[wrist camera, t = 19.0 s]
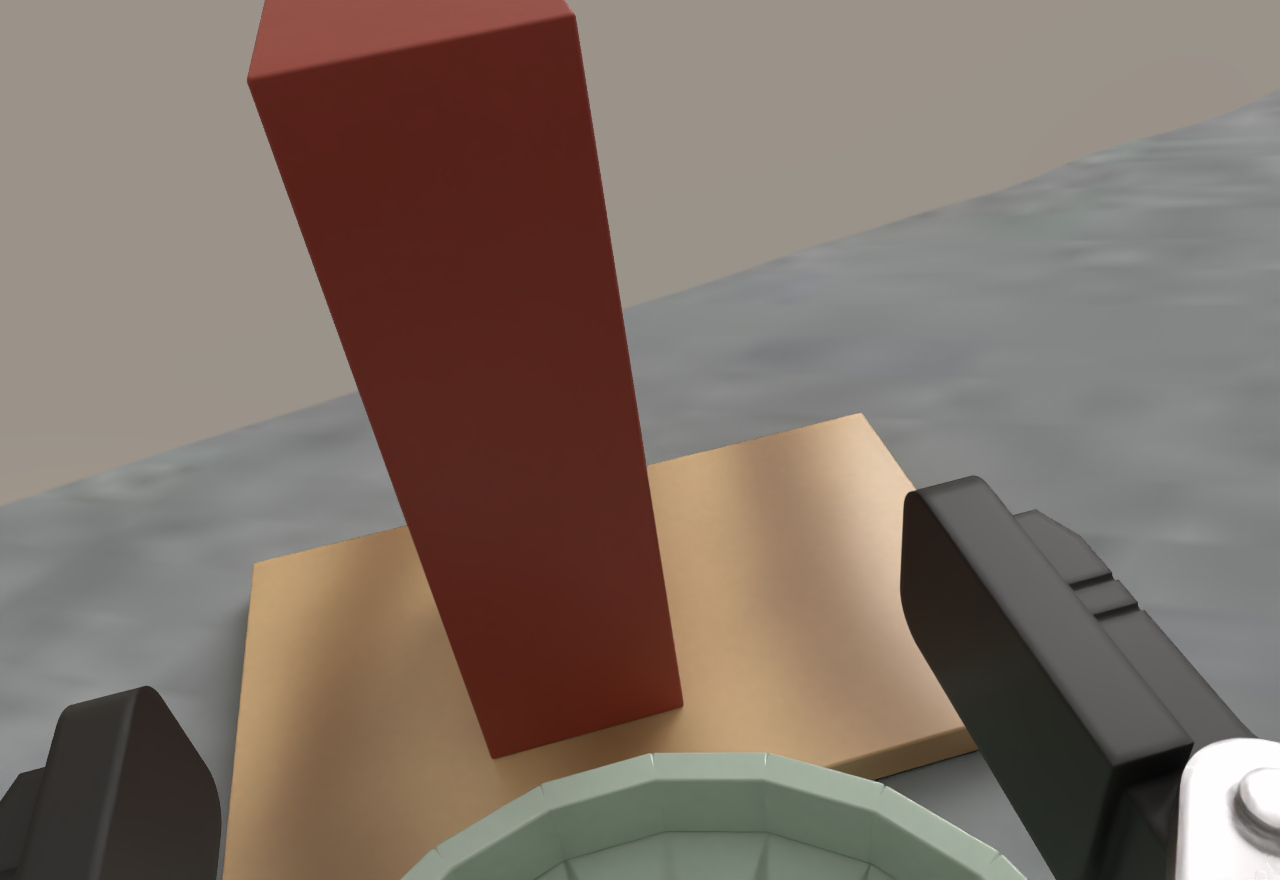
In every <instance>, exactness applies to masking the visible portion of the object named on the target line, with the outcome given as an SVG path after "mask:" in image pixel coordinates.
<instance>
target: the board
mask: <svg viewBox="0 0 1280 880" xmlns="http://www.w3.org/2000/svg"><path fill="white" fill-rule="evenodd" d="M647 472H648V479H649V485H650V491H651V498H652V504H653V511H654V517H655V523H656V530H657V536H658V542H659V549H660V555H661V561H662V568H663V574H664V580H665V587H666V593H667V599H668V606H669V612H670V618H671V625H672V631H673V638H674V644H675V650H676V657H677V663H678V669H679V676H680V682H681V688H682V695H683V701H684V705H683V706H682V707H680V708H676V709H672V710H669V711H665V712H662V713H658V714H654V715H651V716H647V717H644V718H640V719H636V720H633V721H629V722H626V723H622V724H618V725H615V726H611V727H608V728H604V729H600V730H597V731H593V732H590V733H586V734H582V735H579V736H575V737H572V738H568V739H564V740H561V741H557V742H553V743H550V744H546V745H543V746H539V747H535V748H532V749H528V750H525V751H521V752H517V753H514V754H510V755H507V756H503V757H499V758H496V759H492V757H491V756H490V753H489V750H488V747H487V745H486V742H485V739H484V736H483V734H482V731H481V728H480V725H479V723H478V720H477V717H476V714H475V711H474V709H473V706H472V703H471V700H470V698H469V695H468V692H467V689H466V687H465V684H464V681H463V678H462V675H461V673H460V670H459V667H458V664H457V662H456V659H455V656H454V653H453V651H452V648H451V645H450V642H449V639H448V637H447V634H446V631H445V628H444V626H443V623H442V620H441V617H440V615H439V612H438V609H437V606H436V603H435V601H434V598H433V595H432V592H431V590H430V587H429V584H428V581H427V579H426V576H425V573H424V570H423V567H422V565H421V562H420V559H419V556H418V554H417V551H416V548H415V545H414V543H413V540H412V537H411V534H410V531H409V529H408V526H407V525H406V526H402V527H398V528H394V529H390V530H386V531H382V532H378V533H374V534H370V535H366V536H362V537H358V538H354V539H350V540H346V541H342V542H338V543H334V544H330V545H326V546H322V547H318V548H314V549H310V550H306V551H302V552H298V553H294V554H290V555H286V556H282V557H278V558H274V559H270V560H266V561H262V562H258V563H255V564H254V565H253V574H252V584H251V594H250V604H249V614H248V624H247V634H246V644H245V655H244V665H243V675H242V685H241V695H240V705H239V715H238V725H237V735H236V745H235V756H234V766H233V776H232V786H231V796H230V806H229V816H228V826H227V836H226V846H225V857H224V867H223V877H222V880H400V879H401V878H402V877H403V876H404V875H405V874H406V873H407V872H408V871H409V870H410V869H411V868H412V867H413V866H414V865H415V864H417V863H418V862H419V861H420V860H421V859H422V858H423V857H424V856H425V855H426V854H427V853H428V852H429V851H430V850H431V849H435V847H436V846H437V845H438V844H440V843H441V842H443V841H445V840H446V839H448V838H450V837H451V836H453V835H455V834H456V833H458V832H460V831H462V830H463V829H465V828H467V827H468V826H470V825H472V824H473V823H475V822H477V821H479V820H480V819H482V818H484V817H485V816H487V815H489V814H490V813H492V812H494V811H496V810H497V809H499V808H501V807H502V806H504V805H506V804H507V803H509V802H511V801H512V800H514V799H516V798H518V797H519V796H521V795H523V794H524V793H526V792H528V791H529V790H531V789H533V788H535V787H536V786H540V787H541V784H542V783H545V782H548V781H552V780H555V779H559V778H562V777H566V776H570V775H573V774H577V773H580V772H584V771H588V770H591V769H595V768H598V767H602V766H605V765H609V764H613V763H616V762H620V761H623V760H627V759H631V758H634V757H638V756H641V755H645V754H648V753H651V754H652V755H653V753H717V752H765V753H767V755H768V753H773V754H777V755H780V756H784V757H788V758H791V759H795V760H799V761H802V762H806V763H810V764H813V765H817V766H821V767H824V768H828V769H832V770H835V771H839V772H843V773H846V774H850V775H854V776H857V777H861V778H865V779H868V780H875V779H878V778H882V777H885V776H888V775H892V774H895V773H899V772H902V771H906V770H909V769H913V768H916V767H920V766H923V765H927V764H930V763H933V762H937V761H940V760H944V759H947V758H951V757H954V756H958V755H961V754H965V753H968V752H971V751H975V750H978V747H977V746H976V744H975V742H974V741H973V739H972V737H971V736H970V734H969V732H968V731H967V729H966V727H965V726H964V724H963V722H962V720H961V719H960V717H959V715H958V714H957V712H956V710H955V709H954V707H953V705H952V704H951V702H950V700H949V699H948V697H947V695H946V694H945V692H944V690H943V689H942V687H941V685H940V684H939V682H938V680H937V678H936V677H935V675H934V673H933V672H932V670H931V668H930V667H929V665H928V663H927V662H926V660H925V658H924V657H923V655H922V653H921V652H920V650H919V648H918V647H917V645H916V643H915V641H914V639H913V637H912V635H911V633H910V630H909V628H908V625H907V622H906V619H905V616H904V612H903V608H902V603H901V597H900V571H901V548H902V526H903V506H904V500H905V497H906V495H907V493H909V492H911V491H915V490H916V488H915V487H914V486H913V484H912V483H911V481H910V480H909V479H908V477H907V476H906V474H905V473H904V472H903V470H902V469H901V467H900V466H899V465H898V463H897V462H896V460H895V459H894V458H893V456H892V455H891V453H890V452H889V451H888V449H887V448H886V446H885V445H884V444H883V442H882V441H881V439H880V438H879V436H878V435H877V434H876V432H875V431H874V429H873V428H872V427H871V425H870V424H869V422H868V421H867V420H866V418H865V417H864V415H863V414H862V413H857V414H853V415H849V416H845V417H841V418H837V419H833V420H829V421H825V422H821V423H817V424H813V425H809V426H805V427H801V428H797V429H793V430H789V431H785V432H781V433H777V434H773V435H769V436H765V437H761V438H757V439H753V440H748V441H744V442H740V443H736V444H732V445H728V446H724V447H720V448H716V449H712V450H708V451H704V452H700V453H696V454H692V455H688V456H684V457H680V458H676V459H672V460H668V461H664V462H660V463H656V464H652V465H648V466H647Z"/></svg>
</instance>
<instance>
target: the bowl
mask: <svg viewBox="0 0 1280 880" xmlns="http://www.w3.org/2000/svg"><path fill="white" fill-rule="evenodd" d="M400 880H1028V879H1027V878H1026V877H1025V876H1024V875H1023V874H1022V873H1021V872H1020V871H1019V870H1018V869H1017V868H1016V867H1015V866H1014V865H1013V864H1012V863H1011V862H1010V861H1009V860H1008V859H1007V858H1006V857H1005V856H1004V855H1000V853H999V852H998V851H997V850H996V849H994V848H992V847H991V846H989V845H987V844H986V843H984V842H982V841H980V840H979V839H977V838H975V837H974V836H972V835H970V834H969V833H967V832H965V831H963V830H962V829H960V828H958V827H957V826H955V825H953V824H951V823H950V822H948V821H946V820H945V819H943V818H941V817H940V816H938V815H936V814H934V813H933V812H931V811H929V810H928V809H926V808H924V807H922V806H921V805H919V804H917V803H916V802H914V801H912V800H911V799H909V798H907V797H905V796H904V795H902V794H900V793H899V792H897V791H895V790H893V789H892V788H890V787H888V786H886V787H885V786H884V784H882V783H879V782H876V781H872V780H868V779H865V778H861V777H857V776H854V775H850V774H846V773H843V772H839V771H835V770H832V769H828V768H824V767H821V766H817V765H813V764H810V763H806V762H802V761H799V760H795V759H791V758H788V757H784V756H780V755H777V754H773V753H768V755H767V753H765V752H717V753H653V755H652V754H651V753H648V754H645V755H641V756H638V757H634V758H631V759H627V760H623V761H620V762H616V763H613V764H609V765H605V766H602V767H598V768H595V769H591V770H588V771H584V772H580V773H577V774H573V775H570V776H566V777H562V778H559V779H555V780H552V781H548V782H545V783H542V784H541V787H540V786H536V787H535V788H533V789H531V790H529V791H528V792H526V793H524V794H523V795H521V796H519V797H518V798H516V799H514V800H512V801H511V802H509V803H507V804H506V805H504V806H502V807H501V808H499V809H497V810H496V811H494V812H492V813H490V814H489V815H487V816H485V817H484V818H482V819H480V820H479V821H477V822H475V823H473V824H472V825H470V826H468V827H467V828H465V829H463V830H462V831H460V832H458V833H456V834H455V835H453V836H451V837H450V838H448V839H446V840H445V841H443V842H441V843H440V844H438V845H437V846H436V847H435V849H431V850H430V851H429V852H428V853H427V854H426V855H425V856H424V857H423V858H422V859H421V860H420V861H419V862H418V863H417V864H415V865H414V866H413V867H412V868H411V869H410V870H409V871H408V872H407V873H406V874H405V875H404V876H403V877H402V878H401V879H400Z"/></svg>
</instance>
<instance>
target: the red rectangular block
mask: <svg viewBox="0 0 1280 880" xmlns="http://www.w3.org/2000/svg"><path fill="white" fill-rule="evenodd" d="M247 83H248V86H249V89H250V91H251V94H252V97H253V100H254V102H255V105H256V108H257V110H258V113H259V116H260V119H261V122H262V124H263V127H264V130H265V133H266V136H267V138H268V141H269V144H270V147H271V149H272V152H273V155H274V158H275V161H276V163H277V166H278V169H279V171H280V174H281V177H282V180H283V183H284V185H285V188H286V191H287V194H288V197H289V199H290V202H291V205H292V207H293V210H294V213H295V216H296V218H297V221H298V224H299V227H300V230H301V233H302V235H303V238H304V241H305V243H306V246H307V249H308V252H309V254H310V257H311V260H312V263H313V265H314V268H315V271H316V274H317V277H318V280H319V282H320V285H321V288H322V291H323V293H324V296H325V299H326V301H327V304H328V307H329V310H330V313H331V315H332V318H333V321H334V324H335V327H336V329H337V332H338V335H339V337H340V340H341V343H342V346H343V349H344V351H345V354H346V357H347V360H348V363H349V365H350V368H351V371H352V374H353V376H354V379H355V382H356V385H357V388H358V390H359V393H360V396H361V399H362V401H363V404H364V407H365V410H366V412H367V415H368V418H369V421H370V424H371V426H372V429H373V432H374V435H375V437H376V440H377V443H378V446H379V448H380V451H381V454H382V457H383V460H384V462H385V465H386V468H387V471H388V473H389V476H390V479H391V482H392V484H393V487H394V490H395V493H396V495H397V498H398V501H399V504H400V507H401V509H402V512H403V515H404V518H405V520H406V523H407V526H408V529H409V531H410V534H411V537H412V540H413V543H414V545H415V548H416V551H417V554H418V556H419V559H420V562H421V565H422V567H423V570H424V573H425V576H426V579H427V581H428V584H429V587H430V590H431V592H432V595H433V598H434V601H435V603H436V606H437V609H438V612H439V615H440V617H441V620H442V623H443V626H444V628H445V631H446V634H447V637H448V639H449V642H450V645H451V648H452V651H453V653H454V656H455V659H456V662H457V664H458V667H459V670H460V673H461V675H462V678H463V681H464V684H465V687H466V689H467V692H468V695H469V698H470V700H471V703H472V706H473V709H474V711H475V714H476V717H477V720H478V723H479V725H480V728H481V731H482V734H483V736H484V739H485V742H486V745H487V747H488V750H489V753H490V756H491V757H492V759H496V758H499V757H503V756H507V755H510V754H514V753H517V752H521V751H525V750H528V749H532V748H535V747H539V746H543V745H546V744H550V743H553V742H557V741H561V740H564V739H568V738H572V737H575V736H579V735H582V734H586V733H590V732H593V731H597V730H600V729H604V728H608V727H611V726H615V725H618V724H622V723H626V722H629V721H633V720H636V719H640V718H644V717H647V716H651V715H654V714H658V713H662V712H665V711H669V710H672V709H676V708H680V707H682V706H683V705H684V701H683V695H682V688H681V682H680V676H679V669H678V663H677V657H676V650H675V644H674V638H673V631H672V625H671V618H670V612H669V606H668V599H667V593H666V587H665V580H664V574H663V568H662V561H661V555H660V549H659V542H658V536H657V530H656V523H655V517H654V511H653V504H652V498H651V491H650V485H649V479H648V472H647V466H646V460H645V453H644V447H643V441H642V434H641V428H640V422H639V415H638V409H637V403H636V396H635V390H634V384H633V377H632V371H631V364H630V358H629V352H628V345H627V339H626V333H625V326H624V320H623V314H622V307H621V301H620V295H619V289H618V282H617V276H616V269H615V263H614V256H613V250H612V244H611V237H610V231H609V225H608V219H607V212H606V206H605V199H604V193H603V187H602V181H601V174H600V168H599V161H598V155H597V149H596V142H595V136H594V129H593V123H592V117H591V111H590V104H589V98H588V91H587V85H586V79H585V73H584V67H583V60H582V53H581V47H580V41H579V35H578V28H577V22H576V16H575V14H574V13H573V11H572V10H571V9H570V7H569V6H568V4H567V3H566V1H565V0H265V3H264V7H263V11H262V16H261V20H260V25H259V29H258V33H257V38H256V42H255V46H254V51H253V55H252V59H251V64H250V68H249V73H248V77H247Z"/></svg>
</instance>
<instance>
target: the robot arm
mask: <svg viewBox="0 0 1280 880" xmlns="http://www.w3.org/2000/svg"><path fill="white" fill-rule="evenodd" d="M900 597H901V603H902V608H903V612H904V616H905V619H906V622H907V625H908V628H909V630H910V633H911V635H912V637H913V639H914V641H915V643H916V645H917V647H918V648H919V650H920V652H921V653H922V655H923V657H924V658H925V660H926V662H927V663H928V665H929V667H930V668H931V670H932V672H933V673H934V675H935V677H936V678H937V680H938V682H939V684H940V685H941V687H942V689H943V690H944V692H945V694H946V695H947V697H948V699H949V700H950V702H951V704H952V705H953V707H954V709H955V710H956V712H957V714H958V715H959V717H960V719H961V720H962V722H963V724H964V726H965V727H966V729H967V731H968V732H969V734H970V736H971V737H972V739H973V741H974V742H975V744H976V746H977V747H978V749H979V751H980V752H981V754H982V756H983V757H984V759H985V761H986V763H987V764H988V766H989V768H990V769H991V771H992V773H993V774H994V776H995V778H996V779H997V781H998V783H999V784H1000V786H1001V788H1002V789H1003V791H1004V793H1005V794H1006V796H1007V798H1008V799H1009V801H1010V803H1011V805H1012V806H1013V808H1014V810H1015V811H1016V813H1017V815H1018V816H1019V818H1020V820H1021V821H1022V823H1023V825H1024V826H1025V828H1026V830H1027V831H1028V833H1029V835H1030V836H1031V838H1032V840H1033V842H1034V843H1035V845H1036V847H1037V848H1038V850H1039V852H1040V853H1041V855H1042V857H1043V858H1044V860H1045V862H1046V863H1047V865H1048V867H1049V868H1050V870H1051V872H1052V873H1053V875H1054V877H1055V878H1056V880H1280V743H1276V742H1273V741H1267V740H1262V739H1259V738H1258V737H1256V736H1255V735H1254V734H1253V733H1252V732H1250V730H1249V729H1248V728H1247V727H1246V726H1245V725H1244V724H1243V723H1242V722H1241V721H1240V720H1239V719H1238V718H1237V717H1236V716H1235V714H1234V713H1233V712H1232V711H1231V710H1230V709H1229V707H1228V706H1227V705H1226V704H1225V703H1224V702H1223V700H1222V699H1221V698H1220V697H1219V696H1218V695H1217V693H1216V692H1215V691H1214V690H1213V689H1212V688H1211V687H1210V685H1209V684H1208V683H1207V682H1206V681H1205V680H1204V678H1203V677H1202V676H1201V675H1200V674H1199V673H1198V671H1197V670H1196V669H1195V668H1194V667H1193V666H1192V665H1191V663H1190V662H1189V661H1188V660H1187V659H1186V658H1185V656H1184V655H1183V654H1182V653H1181V652H1180V651H1179V649H1178V648H1177V647H1176V646H1175V645H1174V644H1173V642H1172V641H1171V640H1170V639H1169V638H1168V637H1167V636H1166V634H1165V633H1164V632H1163V631H1162V630H1161V629H1160V627H1159V626H1158V625H1157V624H1156V623H1155V622H1154V620H1153V619H1152V618H1151V617H1150V616H1149V615H1148V614H1147V612H1146V611H1145V610H1143V611H1141V610H1140V609H1139V607H1138V602H1137V601H1136V600H1135V598H1134V597H1133V596H1132V595H1131V594H1130V593H1129V591H1128V590H1127V589H1126V588H1125V587H1124V586H1123V585H1122V583H1121V582H1120V581H1119V580H1114V578H1113V576H1112V572H1111V571H1110V569H1109V568H1108V567H1107V566H1106V565H1105V564H1104V562H1103V561H1102V560H1101V559H1100V558H1099V557H1098V556H1097V554H1096V553H1095V552H1094V551H1093V550H1092V549H1091V547H1090V546H1089V545H1088V544H1087V543H1086V542H1085V540H1084V539H1083V538H1082V537H1081V536H1080V535H1078V534H1076V533H1075V532H1073V531H1071V530H1070V529H1068V528H1066V527H1065V526H1063V525H1061V524H1060V523H1058V522H1056V521H1054V520H1053V519H1051V518H1049V517H1048V516H1046V515H1044V514H1043V513H1041V512H1039V511H1038V510H1036V509H1035V510H1031V511H1027V512H1024V513H1020V514H1016V515H1012V514H1011V513H1010V511H1009V510H1008V509H1007V508H1006V506H1005V505H1004V504H1003V503H1002V501H1001V500H1000V499H999V498H998V496H997V495H996V494H995V493H994V491H993V490H992V489H991V488H990V486H989V485H988V484H987V483H986V482H985V481H984V480H983V479H981V478H980V477H978V476H969V477H965V478H961V479H957V480H953V481H950V482H946V483H942V484H938V485H934V486H930V487H926V488H922V489H918V490H915V491H911V492H909V493H907V495H906V497H905V500H904V506H903V526H902V548H901V571H900ZM220 838H221V809H220V802H219V797H218V792H217V789H216V785H215V782H214V779H213V777H212V775H211V773H210V771H209V769H208V767H207V766H206V764H205V763H204V761H203V760H202V758H201V757H200V755H199V754H198V752H197V751H196V749H195V748H194V746H193V745H192V743H191V742H190V740H189V738H188V737H187V735H186V734H185V732H184V731H183V729H182V728H181V726H180V725H179V723H178V722H177V720H176V719H175V717H174V716H173V714H172V713H171V711H170V710H169V708H168V706H167V705H166V703H165V702H164V700H163V699H162V697H161V696H160V695H159V693H158V692H157V691H156V690H155V689H153V688H152V687H150V686H143V687H139V688H136V689H132V690H128V691H124V692H120V693H116V694H112V695H108V696H104V697H101V698H97V699H93V700H89V701H85V702H81V703H77V704H73V705H70V706H68V707H67V708H65V710H64V711H63V712H62V714H61V715H60V717H59V720H58V723H57V726H56V729H55V733H54V737H53V740H52V744H51V747H50V751H49V755H48V758H47V762H46V766H45V767H43V768H40V769H36V770H32V771H28V772H24V773H21V774H19V775H18V777H17V778H16V780H15V781H14V783H13V784H12V785H11V787H10V788H9V790H8V791H7V793H6V794H5V795H4V797H3V798H2V800H1V801H0V880H216V875H217V866H218V856H219V847H220Z"/></svg>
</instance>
